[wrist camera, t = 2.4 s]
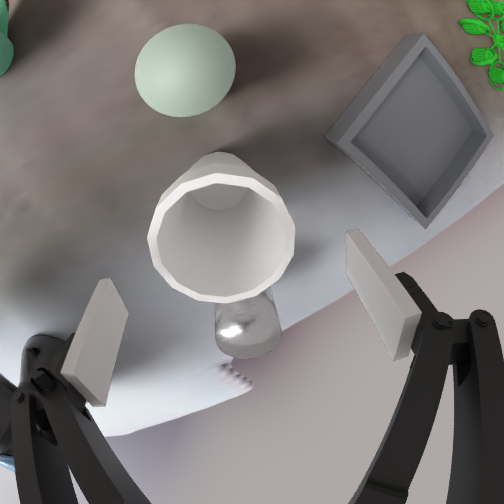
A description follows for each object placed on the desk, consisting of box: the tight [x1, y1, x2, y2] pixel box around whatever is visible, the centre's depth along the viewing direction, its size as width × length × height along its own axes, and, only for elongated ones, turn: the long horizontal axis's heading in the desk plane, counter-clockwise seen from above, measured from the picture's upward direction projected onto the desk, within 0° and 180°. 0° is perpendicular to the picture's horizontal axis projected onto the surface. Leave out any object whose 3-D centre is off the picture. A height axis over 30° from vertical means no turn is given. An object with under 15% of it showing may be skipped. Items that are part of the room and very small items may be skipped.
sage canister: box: [135, 24, 236, 117], centre depth 19 cm, size 6×6×11 cm
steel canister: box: [215, 286, 282, 359], centre depth 31 cm, size 6×6×11 cm
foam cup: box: [147, 151, 295, 303], centre depth 24 cm, size 10×9×13 cm
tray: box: [325, 34, 493, 229], centre depth 27 cm, size 16×16×4 cm
